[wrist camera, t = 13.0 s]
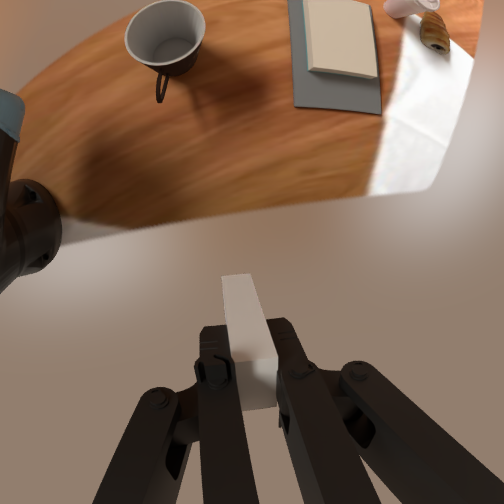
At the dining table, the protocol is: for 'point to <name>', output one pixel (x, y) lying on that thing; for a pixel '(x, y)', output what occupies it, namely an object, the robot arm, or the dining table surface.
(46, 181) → the dining table surface
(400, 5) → the smoothie
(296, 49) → the mat
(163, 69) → the coffee mug
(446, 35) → the pastry
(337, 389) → the robot arm
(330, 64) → the tile
